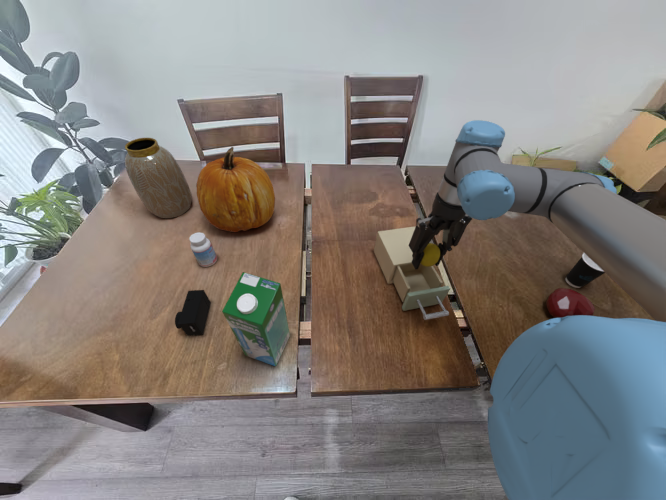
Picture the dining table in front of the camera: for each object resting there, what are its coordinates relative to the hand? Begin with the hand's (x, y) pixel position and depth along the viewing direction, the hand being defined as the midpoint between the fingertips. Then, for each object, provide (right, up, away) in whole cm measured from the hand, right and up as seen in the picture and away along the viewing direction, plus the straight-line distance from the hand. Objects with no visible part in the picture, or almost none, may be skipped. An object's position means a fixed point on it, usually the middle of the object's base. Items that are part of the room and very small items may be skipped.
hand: (424, 263), depth 77 cm
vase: (-91, +21, +34) cm, 100 cm away
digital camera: (-65, -16, +2) cm, 67 cm away
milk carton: (-43, -22, -3) cm, 49 cm away
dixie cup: (+55, -7, +15) cm, 57 cm away
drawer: (0, -11, +8) cm, 13 cm away
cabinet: (-3, -1, +18) cm, 18 cm away
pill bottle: (-68, 0, +16) cm, 70 cm away
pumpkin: (-61, +16, +31) cm, 70 cm away
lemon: (0, 0, 0) cm, 1 cm away
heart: (+44, -15, +7) cm, 47 cm away
